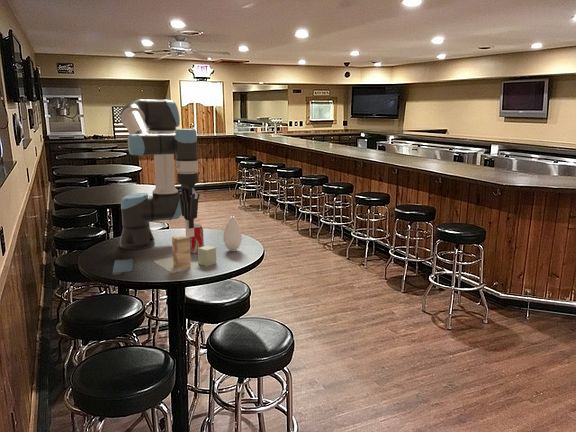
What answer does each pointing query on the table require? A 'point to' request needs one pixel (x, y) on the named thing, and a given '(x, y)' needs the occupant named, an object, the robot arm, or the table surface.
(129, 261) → the smartphone
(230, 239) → the sauce bottle
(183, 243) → the tall block
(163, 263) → the mat
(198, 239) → the beverage can
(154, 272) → the table surface
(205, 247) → the short block
